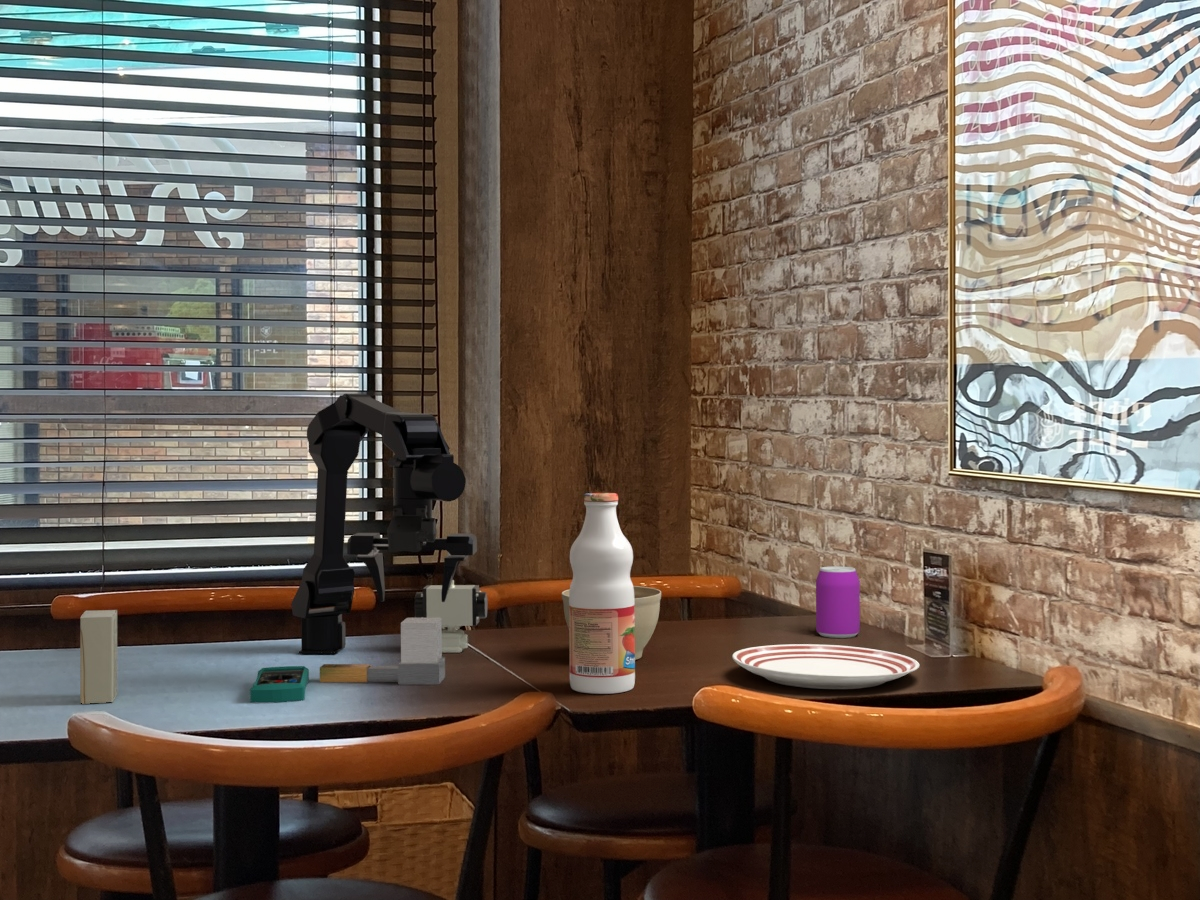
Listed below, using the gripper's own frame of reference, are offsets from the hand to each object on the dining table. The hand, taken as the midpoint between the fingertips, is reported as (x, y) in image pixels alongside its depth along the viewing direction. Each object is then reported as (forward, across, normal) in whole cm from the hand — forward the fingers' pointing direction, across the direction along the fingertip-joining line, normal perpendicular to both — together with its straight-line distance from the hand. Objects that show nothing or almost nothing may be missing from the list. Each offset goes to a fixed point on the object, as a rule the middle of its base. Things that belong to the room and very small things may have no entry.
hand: (412, 601), depth 193 cm
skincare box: (+12, -41, -15) cm, 46 cm away
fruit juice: (+11, +29, -8) cm, 32 cm away
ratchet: (+12, -4, -2) cm, 12 cm away
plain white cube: (+8, +2, -2) cm, 9 cm away
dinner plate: (+11, +62, 0) cm, 63 cm away
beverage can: (+11, +70, +38) cm, 80 cm away
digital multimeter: (+12, -17, -10) cm, 23 cm away
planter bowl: (+12, +30, +16) cm, 36 cm away
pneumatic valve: (+12, +3, +23) cm, 26 cm away
